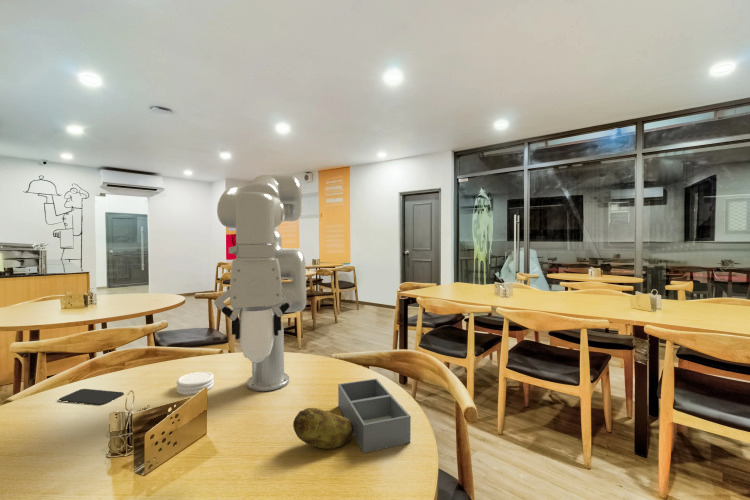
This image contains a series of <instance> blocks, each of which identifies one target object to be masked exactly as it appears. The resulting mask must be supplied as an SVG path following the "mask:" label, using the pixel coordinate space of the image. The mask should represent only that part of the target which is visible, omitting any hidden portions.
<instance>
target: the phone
mask: <svg viewBox="0 0 750 500" xmlns="http://www.w3.org/2000/svg"><path fill="white" fill-rule="evenodd" d="M124 395H125V393H124V392H123V391H114V390H103V389H93V388H91V389H90V388H82V389H78V390H75V391H74V392H71V393H69V394H66V395H64V396H61V397H60V398H58V401H59V400H61V401H68V402H77V403H76V404H79V403H84V404H83V405H90V404H93V405H92V406H104V405H106V404H109V403H111V402H113V401H115V400H116V399H118V398H120V397H122V396H124ZM112 400H113V401H112ZM68 402H67V403H68Z"/></svg>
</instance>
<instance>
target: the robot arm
mask: <svg viewBox="0 0 750 500" xmlns="http://www.w3.org/2000/svg"><path fill="white" fill-rule="evenodd" d="M302 195H303V194H302V186H301V183H300V181H299V180H298V179H297V178H296V176H294V175H293V176H292V175H281V174H262V175H261V174H260V175H258V176H256V177H254V178H253V179H252V181H251V183H249V184H248V183H247V184H244V185H239V186H233V187H230V188H227V189H226V190H224V191H223V193H222V194H221V196H220V197H219V199H218V202H217V208H216V213H217V218H218V221H219V222H220V224H221V225H222V226H224V227H225V228H230V229H235V241H236V244H235V245H233V246H231V247H230V246H229V247H228V254H231V255H234V256H236V258H234V259H232V262H231V267H230V277H229V279H230V281H229V288H228V289H227V290H226V291H224V292H223V293H222V294H221V295H219V296H218V297H217V298H216V299H215V300H214V302H213V303H214V305H215V307H217V308H218V309H219V311H221V312H222V314H223V315H225V316H226V317H227V318H229V320H230V321H231V335H233V336H235V338H234V339H235V340H240V339H239V320H240V317H239V315H240V313H241V309H247V308H262V307H272V312H273V317H274V341H273V346H272V350H271V353H270V355H269V356H266V358H265V359H264V360H263V361H261V362H258V363H256V362H251V369H252V370H251V374H252V375H251V377H250V378H248V379H247V382H246V386H247V388H249V389H250V390H252V391H255V392H256V391H257V392H267V391H268V392H269V391H275V390H278V389H280V388H283V387H285V386H287V385H288V383H290V376H289V374H287V373H286V372H285V355H284V354H285V351H284V350H285V349H284V347H285V343H284V341H285V339H284V334H285V333H284V324H283V323H282V317H283V316H284V313H297V312H302V311H303V310H305V308H306V306H307V279H306V278H307V275H306V261H305V260H306V259H305V255H304V254H303V252H302V251H300V250H298V249H283V248H282V239H283V238H282V236H281V234H280V232H279V231H278V230H277V229H276V228H277V227H279V226H280V225H281V224H282V222H295V221H298V220H299V219H300V218H301V214H302V199H303V198H302ZM282 280H290V281H282ZM228 299H229V303H230V307H232V308H233V309H231V308H230V307H229V306H228V305H226V303H225V301H227V300H228Z"/></svg>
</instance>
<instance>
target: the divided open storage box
mask: <svg viewBox="0 0 750 500" xmlns="http://www.w3.org/2000/svg"><path fill="white" fill-rule="evenodd" d="M337 388H338V390H337V392H338V393H337V396H338V399H337V400H338V409H339V410H340V411H341V413H342V415H343V417H344V418H347V419H349V420H350V421H351V422H352V424H353V427H354V432H353V436H354V438H355V440H356V442H357V444H358V446H359V447H360V449H361V450H362V453H364V454H366V453H370V452H374V451H379V450H383V449H388V448H392V447H393V448H394V447H396V446H400V445H405V444H406V445H407V444H410V443H411V419H412V418H411V415H410V413H408V412H407V411H406V410H405V408H404V407H403V406H402V405H401V404H400V403H399V402H398V401H397V400H396V398H395V397H394V396H393V395H392V394H391V393H390V392H389V391H388V389H386V387H385V386H384V385H383V384H382V383H381V382H380V381H379V379H377V378H372V379H363V380H357V381H352V382H351V381H350V382H344V383H338V387H337Z"/></svg>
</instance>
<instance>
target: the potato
mask: <svg viewBox="0 0 750 500" xmlns="http://www.w3.org/2000/svg"><path fill="white" fill-rule="evenodd" d="M292 425H293V426H292V427H293V430H294V433H295V435H296V436H297V438H298V439H299V440H301V442H304V443H305V444H308V445H311V446H315V447H316V448H320V449H323V450H329V449H335V448H339V447H340V446H343V445H344V444H346V443H347V442H348V441H350V440H351V439H352V438H353V436H354V434H353V432H354V427H353V424H352V422H351V421H350V420H349V419H347V418H345V417H344V416H342V415H338V414H336V413H332V412H330V411H327V410H323V409H321V408H317V407H308V408H304V409H302V410H300V411H299V412H298V413H297V414H296V416H295V417H294V420H293V424H292Z"/></svg>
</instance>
